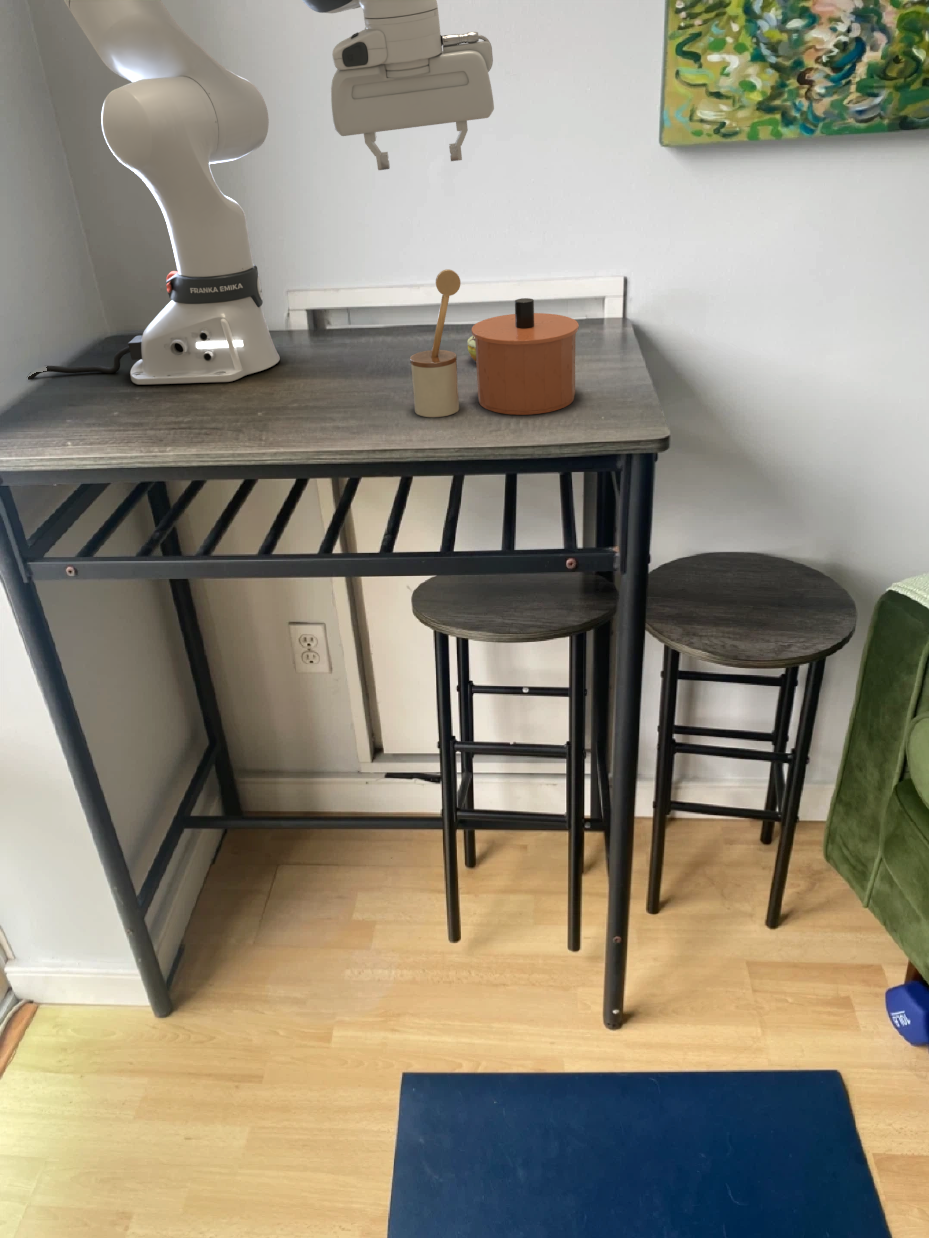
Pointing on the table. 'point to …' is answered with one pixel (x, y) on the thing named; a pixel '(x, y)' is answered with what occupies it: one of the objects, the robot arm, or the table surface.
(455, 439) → the table surface
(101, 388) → the table surface
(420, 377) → the crock
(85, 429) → the table surface
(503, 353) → the pot
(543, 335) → the pot lid
